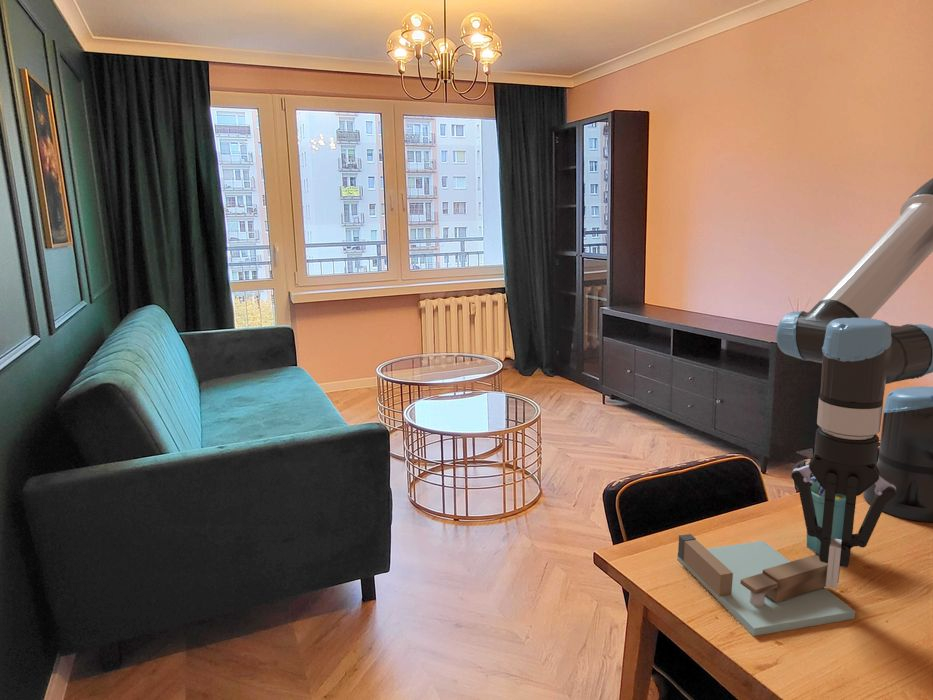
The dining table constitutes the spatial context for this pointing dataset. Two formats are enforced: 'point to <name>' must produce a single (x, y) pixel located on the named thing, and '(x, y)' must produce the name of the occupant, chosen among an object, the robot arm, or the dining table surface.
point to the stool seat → (758, 611)
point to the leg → (789, 578)
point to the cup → (818, 501)
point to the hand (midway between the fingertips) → (831, 582)
